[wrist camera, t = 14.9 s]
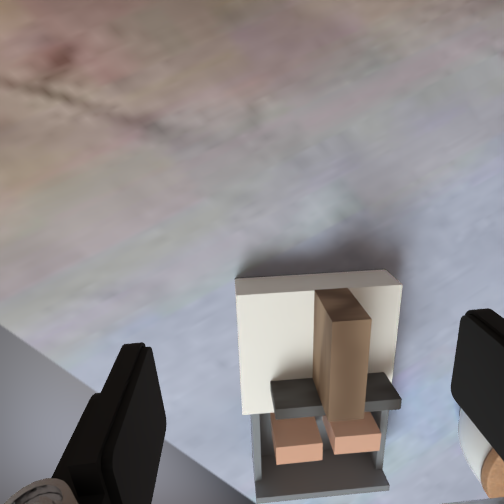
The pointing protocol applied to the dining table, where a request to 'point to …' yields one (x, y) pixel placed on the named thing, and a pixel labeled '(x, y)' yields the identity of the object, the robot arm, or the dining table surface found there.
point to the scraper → (336, 366)
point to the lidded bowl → (481, 457)
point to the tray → (315, 467)
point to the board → (304, 327)
